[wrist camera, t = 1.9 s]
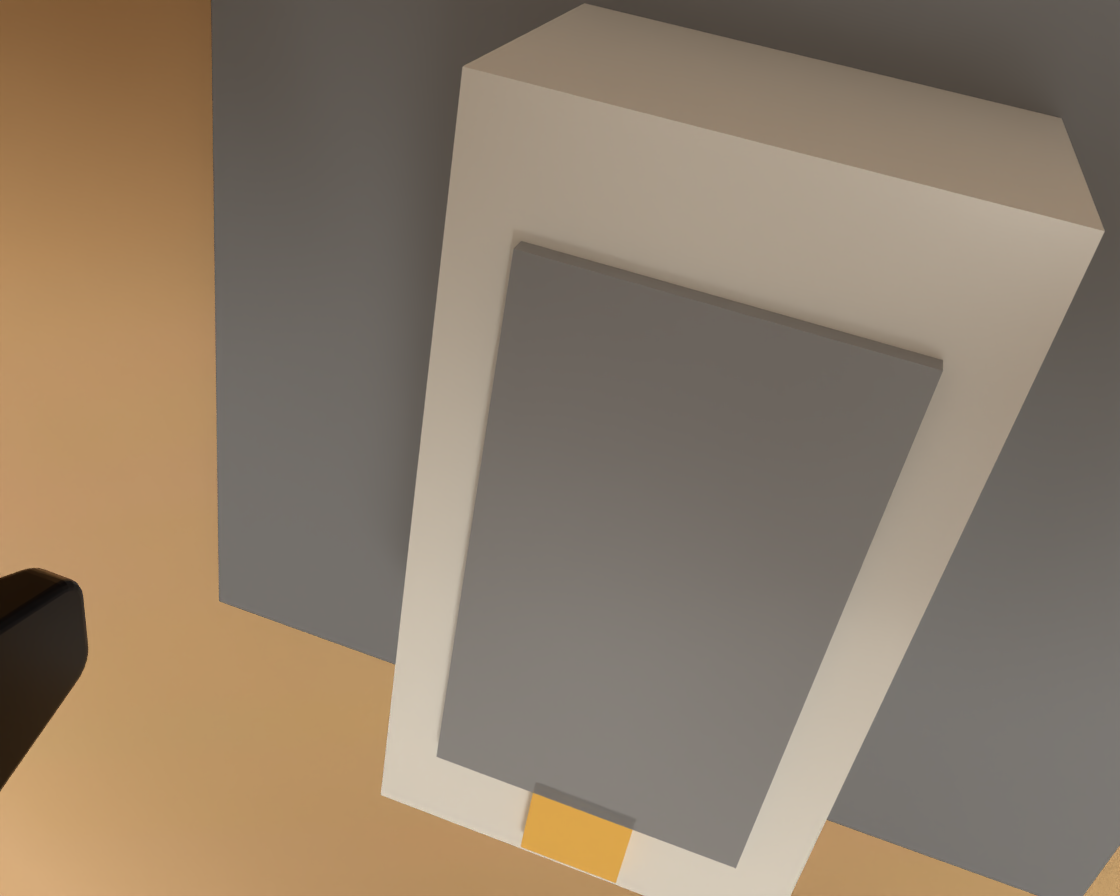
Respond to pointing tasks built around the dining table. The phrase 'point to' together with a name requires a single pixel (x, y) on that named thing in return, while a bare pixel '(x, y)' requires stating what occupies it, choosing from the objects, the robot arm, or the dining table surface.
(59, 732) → the dining table surface
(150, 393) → the dining table surface
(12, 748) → the robot arm
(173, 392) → the dining table surface
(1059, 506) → the subfloor mat
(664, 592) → the block
